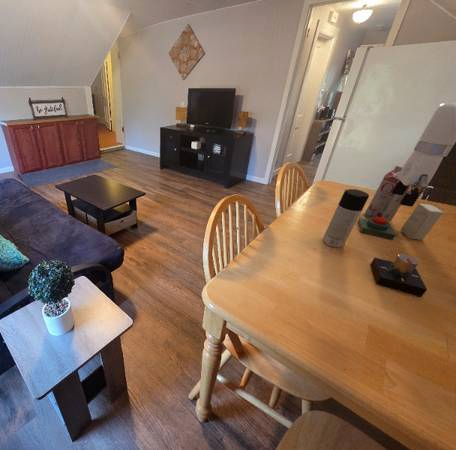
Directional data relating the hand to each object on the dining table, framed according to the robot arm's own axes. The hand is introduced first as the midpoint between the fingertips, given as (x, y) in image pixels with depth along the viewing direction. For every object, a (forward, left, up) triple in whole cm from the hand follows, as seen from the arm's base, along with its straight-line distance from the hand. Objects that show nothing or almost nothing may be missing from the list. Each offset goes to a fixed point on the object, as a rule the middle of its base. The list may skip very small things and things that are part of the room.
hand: (401, 199), depth 83 cm
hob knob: (0, +24, -13) cm, 28 cm away
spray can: (+15, +11, -17) cm, 25 cm away
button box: (0, -7, -16) cm, 18 cm away
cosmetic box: (-12, -10, -17) cm, 23 cm away
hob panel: (0, +24, -16) cm, 29 cm away
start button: (0, -7, -13) cm, 14 cm away
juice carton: (-3, -20, -17) cm, 26 cm away
